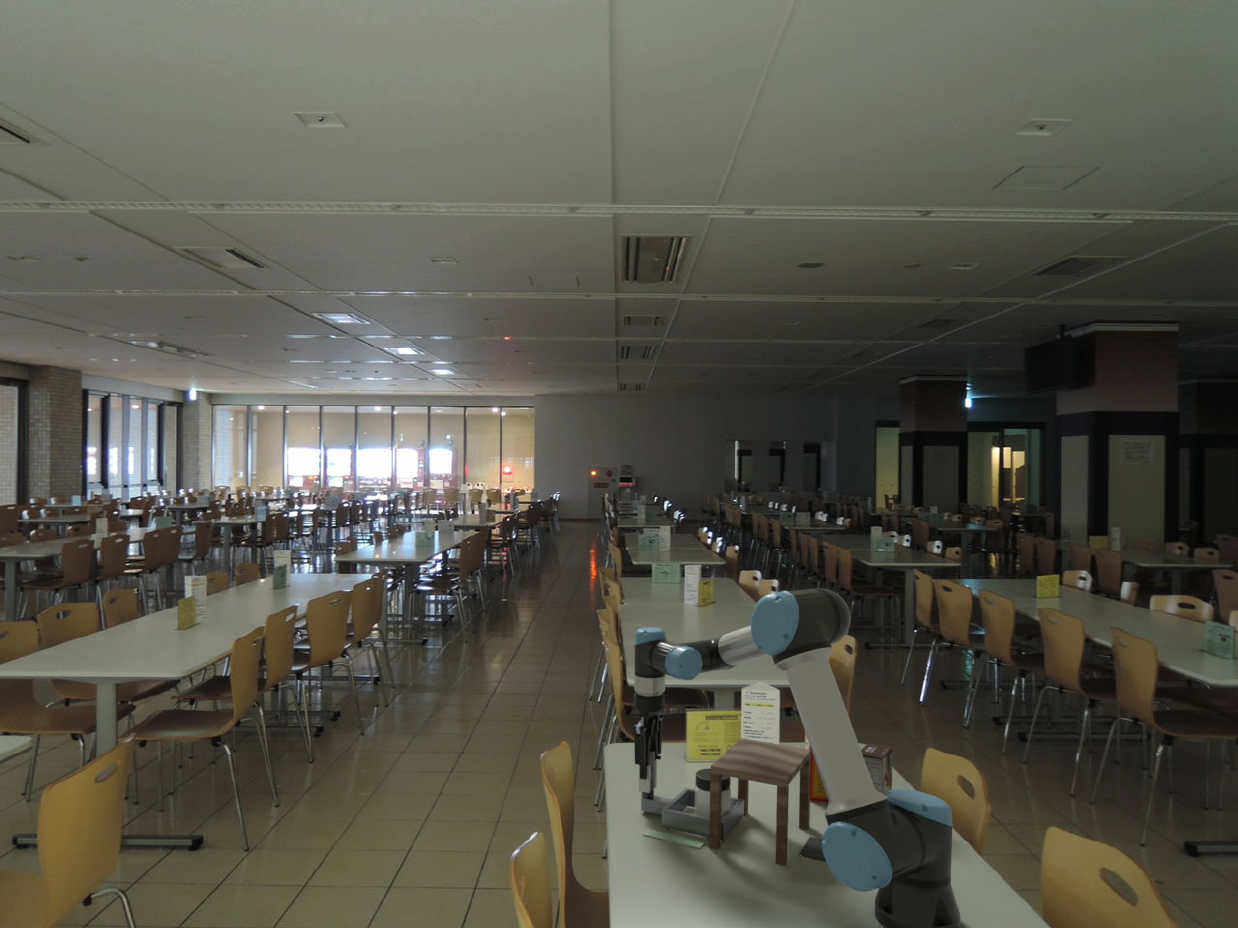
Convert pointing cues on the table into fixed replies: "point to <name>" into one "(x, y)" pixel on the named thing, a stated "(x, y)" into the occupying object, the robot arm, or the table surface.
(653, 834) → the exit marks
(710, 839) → the small wooden table
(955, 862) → the table surface
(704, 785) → the jar
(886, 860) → the robot arm
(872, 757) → the coffee box
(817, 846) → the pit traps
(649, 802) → the sled
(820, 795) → the baking soda box
